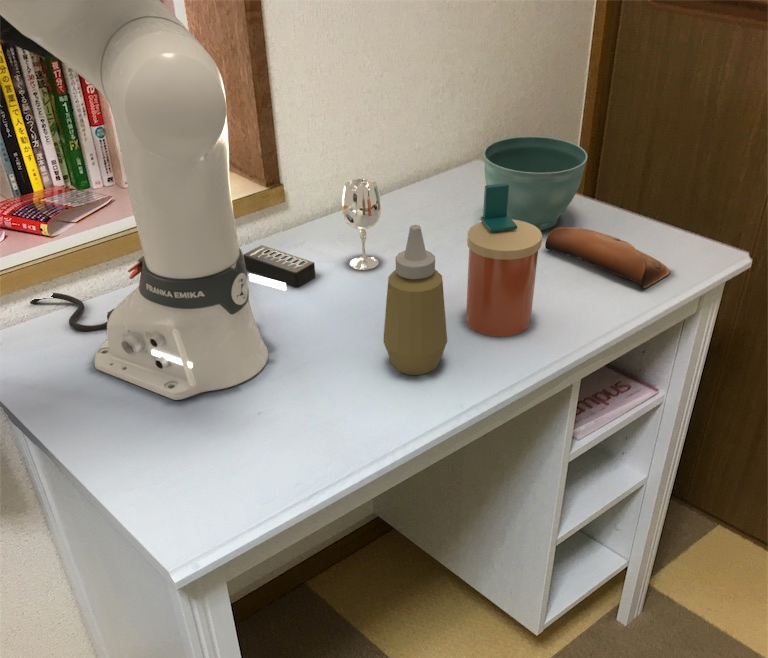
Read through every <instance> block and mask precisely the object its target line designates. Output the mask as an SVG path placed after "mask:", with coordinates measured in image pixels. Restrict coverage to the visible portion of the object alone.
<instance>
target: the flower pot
mask: <svg viewBox="0 0 768 658" xmlns="http://www.w3.org/2000/svg"><path fill="white" fill-rule="evenodd" d="M482 153H483V162H484V180H485V181H484V182H485V186H487V185H495V184H503V183H507V184H508V185H509V192H508V205H507V214H508V215H509V217H510V218H511V219H513V220H519V221H523V222H527V223H530V224H532V225H534V226H536V227H537V228H538V229H539V230H540V231H545V230H548V229H550V228H553V227H554V226H555V225H556V224H557V222H558V220H559V217H560V216H561V214H563V212H565V210H566V209H567V208H568V206H570V204H571V202H572V201H573V200H574V197H575V196H576V193H577V192H578V190H579V188H580V185H581V182H582V179H583V176H584V170H585V167H586V165H587V161H588V153H587V151H586V150H585V149H584V148H582V146H580V145H578V144H577V143H574V142H571V141H568V140H565V139H561V138H557V137H548V136H540V135H539V136H538V135H537V136H536V135H531V136H530V135H527V136H526V135H525V136H513V137H506V138H502V139H499V140H496V141H493V142H491V143H489V144H488V145H487V146H486V147H485V148H484V149H483V152H482Z"/></svg>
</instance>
